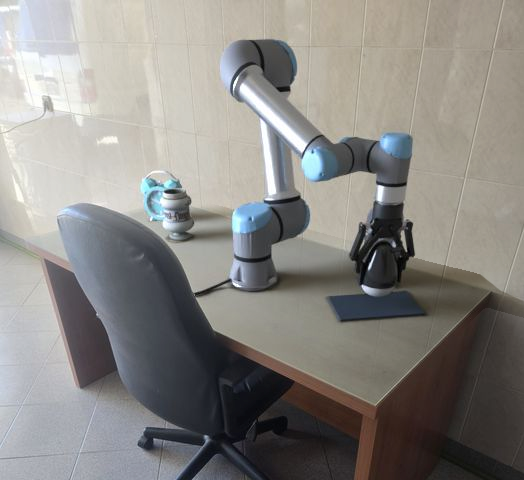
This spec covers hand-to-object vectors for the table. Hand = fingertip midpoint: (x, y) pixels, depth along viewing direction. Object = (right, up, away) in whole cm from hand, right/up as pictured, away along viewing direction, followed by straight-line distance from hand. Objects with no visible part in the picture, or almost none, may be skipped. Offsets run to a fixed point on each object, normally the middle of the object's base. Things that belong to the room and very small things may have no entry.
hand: (378, 282), depth 129 cm
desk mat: (0, -6, +4) cm, 8 cm away
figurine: (+5, +3, +18) cm, 19 cm away
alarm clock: (-74, +38, +73) cm, 111 cm away
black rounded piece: (0, -3, +2) cm, 3 cm away
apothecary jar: (-64, +25, +53) cm, 87 cm away
